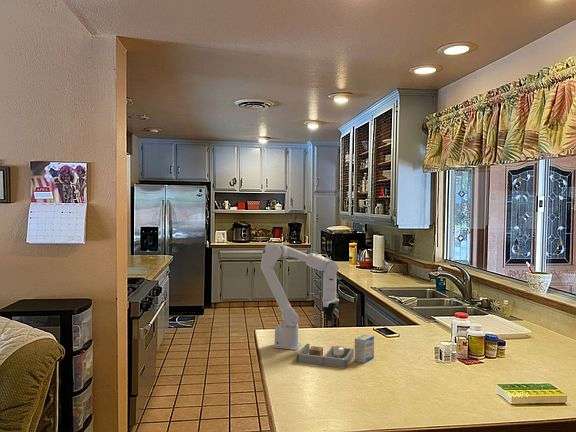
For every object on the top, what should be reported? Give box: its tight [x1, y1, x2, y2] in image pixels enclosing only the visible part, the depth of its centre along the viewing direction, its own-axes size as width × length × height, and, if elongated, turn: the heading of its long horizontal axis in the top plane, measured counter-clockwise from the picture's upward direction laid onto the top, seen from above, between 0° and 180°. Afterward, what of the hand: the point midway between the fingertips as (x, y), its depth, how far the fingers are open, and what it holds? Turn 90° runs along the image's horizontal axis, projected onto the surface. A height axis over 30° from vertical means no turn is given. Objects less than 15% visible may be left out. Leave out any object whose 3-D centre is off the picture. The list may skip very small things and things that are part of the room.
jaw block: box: [308, 345, 324, 356], centre depth 175 cm, size 4×4×4 cm
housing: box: [296, 343, 355, 369], centre depth 174 cm, size 19×14×3 cm
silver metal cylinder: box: [332, 345, 345, 359], centre depth 173 cm, size 4×4×5 cm
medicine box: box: [354, 333, 375, 364], centre depth 175 cm, size 8×4×9 cm, turn 143°
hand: (329, 320), depth 192 cm, fingers closed
